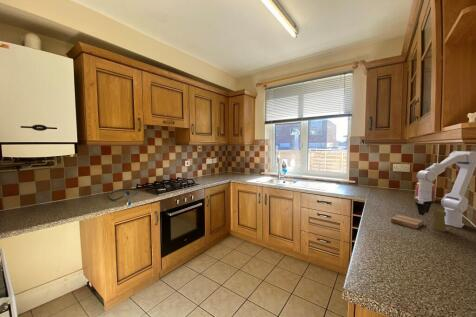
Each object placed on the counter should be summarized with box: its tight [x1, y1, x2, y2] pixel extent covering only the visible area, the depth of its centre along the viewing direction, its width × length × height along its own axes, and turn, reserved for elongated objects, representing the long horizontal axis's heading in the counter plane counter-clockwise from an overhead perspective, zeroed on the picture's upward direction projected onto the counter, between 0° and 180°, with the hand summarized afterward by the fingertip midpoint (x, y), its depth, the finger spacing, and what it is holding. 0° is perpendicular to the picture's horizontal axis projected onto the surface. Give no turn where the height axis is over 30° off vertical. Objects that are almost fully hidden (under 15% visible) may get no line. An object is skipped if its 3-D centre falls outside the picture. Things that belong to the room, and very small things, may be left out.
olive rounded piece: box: [430, 209, 447, 232], centre depth 112 cm, size 6×6×11 cm
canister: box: [413, 182, 437, 203], centre depth 169 cm, size 13×13×18 cm
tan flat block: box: [390, 214, 424, 230], centre depth 121 cm, size 12×12×2 cm
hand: (423, 213), depth 117 cm, fingers open, 7 cm apart
